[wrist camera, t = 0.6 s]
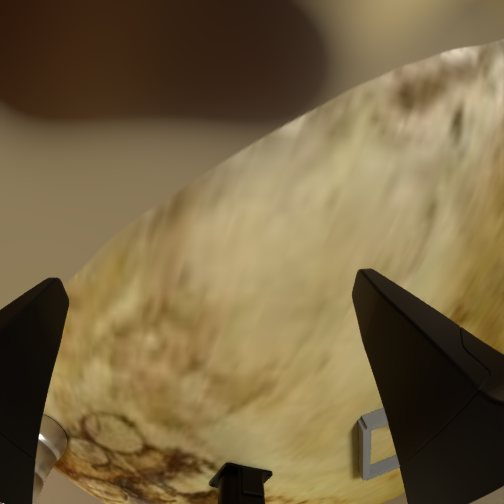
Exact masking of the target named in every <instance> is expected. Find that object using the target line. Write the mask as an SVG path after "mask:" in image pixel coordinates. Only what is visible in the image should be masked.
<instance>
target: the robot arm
mask: <svg viewBox="0 0 504 504" xmlns="http://www.w3.org/2000/svg"><path fill="white" fill-rule="evenodd" d="M352 299H353V303H354V307H355V312H356V316H357V320H358V324H359V329H360V333H361V337H362V341H363V345H364V348H365V351H366V354H367V357H368V360H369V363H370V366H371V369H372V372H373V375H374V378H375V381H376V384H377V387H378V391H379V394H380V397H381V400H382V404H383V407H384V411H385V414H386V417H387V421H388V424H389V428H390V432H391V435H392V439H393V443H394V446H395V450H396V454H397V458H398V462H399V465H400V471H401V475H402V479H403V484H404V488H405V493H406V497H407V502H408V504H504V355H503V354H502V353H500V352H498V351H497V350H495V349H494V348H492V347H490V346H489V345H487V344H486V343H484V342H482V341H481V340H480V339H478V338H477V337H475V336H474V335H472V334H471V333H469V332H468V331H466V330H465V329H464V328H462V327H460V326H459V325H458V324H456V323H455V322H453V321H452V320H450V319H449V318H447V317H446V316H444V315H443V314H441V313H440V312H438V311H437V310H435V309H434V308H432V307H431V306H429V305H428V304H426V303H425V302H423V301H422V300H420V299H419V298H417V297H416V296H414V295H413V294H411V293H410V292H408V291H407V290H405V289H403V288H402V287H400V286H399V285H397V284H396V283H394V282H392V281H391V280H389V279H388V278H386V277H385V276H383V275H381V274H380V273H378V272H377V271H375V270H373V269H370V268H369V269H360V270H358V272H357V274H356V278H355V283H354V287H353V291H352ZM68 307H69V298H68V296H67V293H66V291H65V289H64V286H63V284H62V282H61V280H60V279H59V278H47V279H45V280H44V281H42V282H41V283H39V284H38V285H36V286H35V287H33V288H32V289H30V290H29V291H27V292H26V293H24V294H23V295H21V296H20V297H18V298H17V299H15V300H14V301H12V302H11V303H10V304H8V305H7V306H5V307H4V308H3V309H1V310H0V504H33V486H34V474H35V464H36V460H35V459H36V454H37V447H38V440H39V434H40V428H41V422H42V417H43V412H44V407H45V402H46V398H47V393H48V389H49V385H50V381H51V377H52V373H53V369H54V365H55V362H56V358H57V355H58V351H59V347H60V343H61V339H62V334H63V329H64V325H65V320H66V316H67V312H68ZM272 475H273V474H272V471H267V470H262V469H257V468H251V467H247V466H242V465H237V464H233V463H226V464H225V465H224V466H223V467H222V468H221V470H220V471H219V472H218V473H217V474H216V475H215V477H214V478H213V479H212V480H211V481H210V483H209V485H210V486H212V487H216V488H218V504H265V497H264V495H265V493H264V483H265V482H266V481H267V480H268V479H269V478H270V477H271V476H272Z"/></svg>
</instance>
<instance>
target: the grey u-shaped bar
mask: <svg viewBox="0 0 504 504" xmlns="http://www.w3.org/2000/svg"><path fill="white" fill-rule="evenodd" d="M387 424H388V421H387V417H386V414H385V411H384V408H381V409H379V410H376V411H374V412H371V413H368V414H366V415H363V416H362V419H359V420H358V437H359V472H360V475H361V477H362V480H366V481H367V480H369V479H372V478H375V477H377V476H380V475H382V474H385V473H387V472H390V471H392V470H395V469H397V468H399V467H400V465H399V462H398V458H397V455H395V456H393V457H390V458H388V459H385V460H383V461H380V462H378V463H375V464H372V465H370V458H371V430H374V429H377V428H379V427H382V426H384V425H387Z"/></svg>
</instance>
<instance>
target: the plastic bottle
mask: <svg viewBox="0 0 504 504" xmlns="http://www.w3.org/2000/svg"><path fill="white" fill-rule="evenodd" d="M66 445H67V438H66V434H65V432H64V431H63V429H62V428H61V427H60V426H59V425H58V424H57V423H56V422H55V421H54V420H52V419H51V418H49V417H48V416H46V415H44V414H43V417H42V422H41V428H40V434H39V440H38V447H37V454H36V459H35V460H36V464H35V474H34V486H33V504H38V502H39V497H40V493H41V491H42V488H43V485H44V482H45V480H46V478H47V476H48V474H49V473H50V471H51V469H52V468H53V466H54V465H55V463H56V462H57V461H58V460H59V459H60V458H61V456H62V455H63V454H64V452H65V449H66Z"/></svg>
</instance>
